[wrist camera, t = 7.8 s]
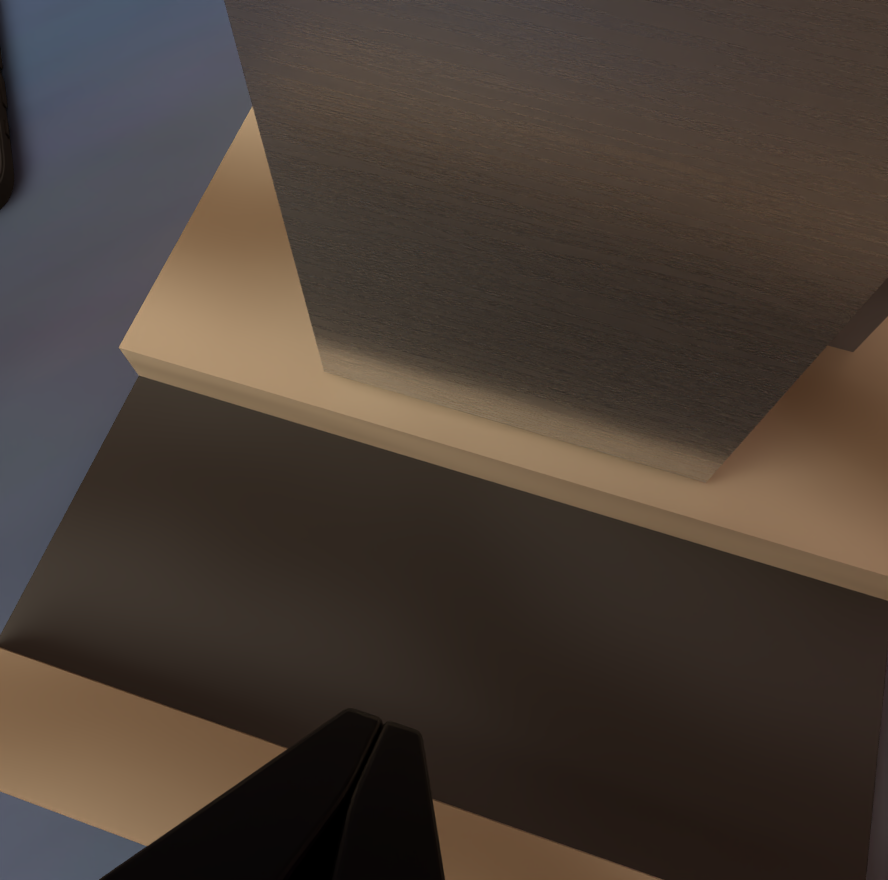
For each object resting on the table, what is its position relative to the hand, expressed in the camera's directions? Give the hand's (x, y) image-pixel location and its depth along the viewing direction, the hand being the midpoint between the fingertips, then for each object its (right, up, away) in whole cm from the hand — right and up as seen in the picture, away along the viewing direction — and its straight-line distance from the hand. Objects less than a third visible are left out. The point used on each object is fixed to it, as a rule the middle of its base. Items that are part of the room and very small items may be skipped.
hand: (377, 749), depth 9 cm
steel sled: (+5, +12, +11) cm, 17 cm away
